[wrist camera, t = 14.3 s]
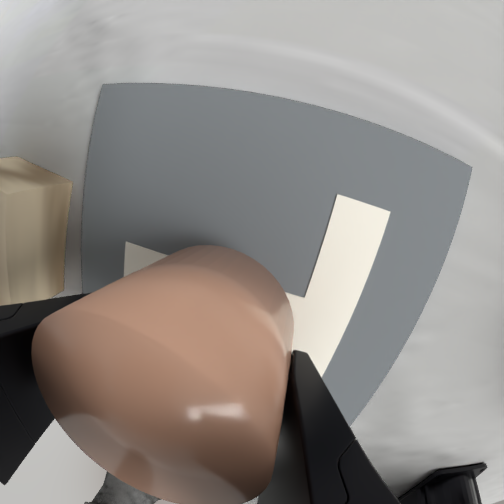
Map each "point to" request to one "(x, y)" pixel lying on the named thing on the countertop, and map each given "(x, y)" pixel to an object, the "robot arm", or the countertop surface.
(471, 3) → the countertop surface
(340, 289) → the letter mat
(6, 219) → the maple block
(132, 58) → the countertop surface
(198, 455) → the terracotta cylinder
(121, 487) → the salt shaker
